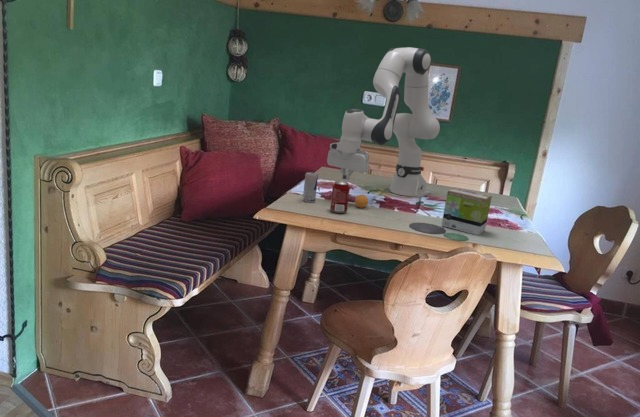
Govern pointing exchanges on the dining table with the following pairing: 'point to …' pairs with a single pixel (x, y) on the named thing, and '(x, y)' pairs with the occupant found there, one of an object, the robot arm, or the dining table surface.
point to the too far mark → (456, 236)
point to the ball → (361, 201)
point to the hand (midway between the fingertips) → (345, 179)
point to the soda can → (339, 197)
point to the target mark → (427, 228)
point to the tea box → (466, 211)
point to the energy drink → (310, 187)
